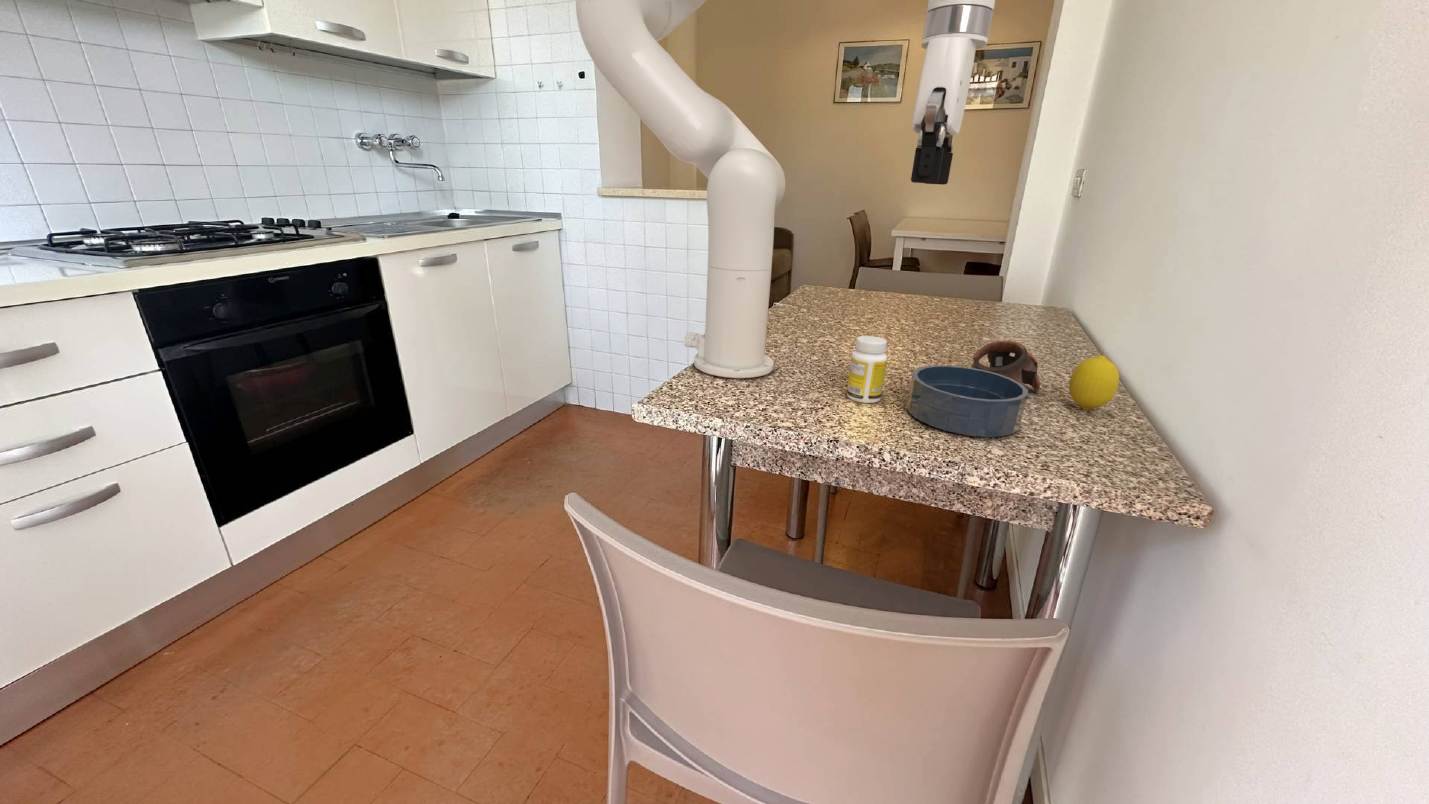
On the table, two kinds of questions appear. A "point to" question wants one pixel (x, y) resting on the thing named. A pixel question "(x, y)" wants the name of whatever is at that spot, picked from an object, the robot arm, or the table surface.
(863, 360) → the supplement bottle
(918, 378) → the bowl
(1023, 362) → the pottery mug
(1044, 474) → the table surface
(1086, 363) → the lemon
